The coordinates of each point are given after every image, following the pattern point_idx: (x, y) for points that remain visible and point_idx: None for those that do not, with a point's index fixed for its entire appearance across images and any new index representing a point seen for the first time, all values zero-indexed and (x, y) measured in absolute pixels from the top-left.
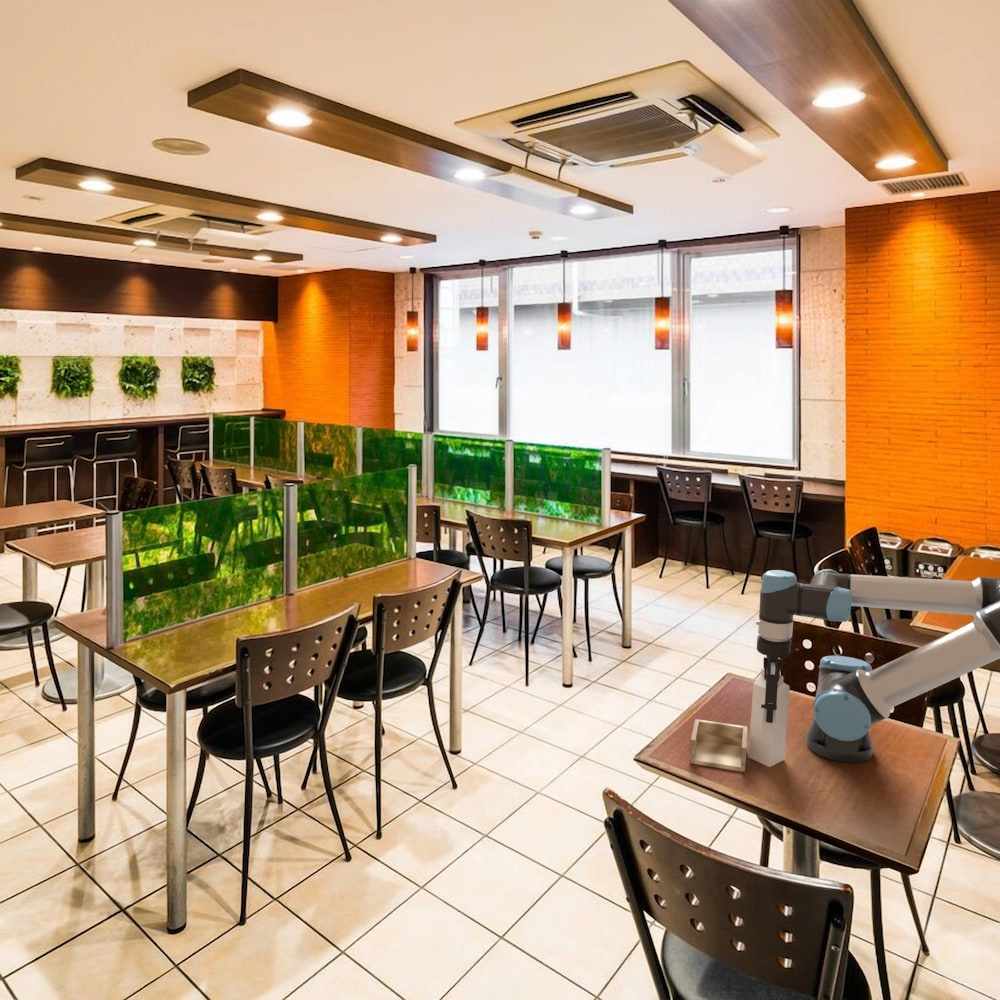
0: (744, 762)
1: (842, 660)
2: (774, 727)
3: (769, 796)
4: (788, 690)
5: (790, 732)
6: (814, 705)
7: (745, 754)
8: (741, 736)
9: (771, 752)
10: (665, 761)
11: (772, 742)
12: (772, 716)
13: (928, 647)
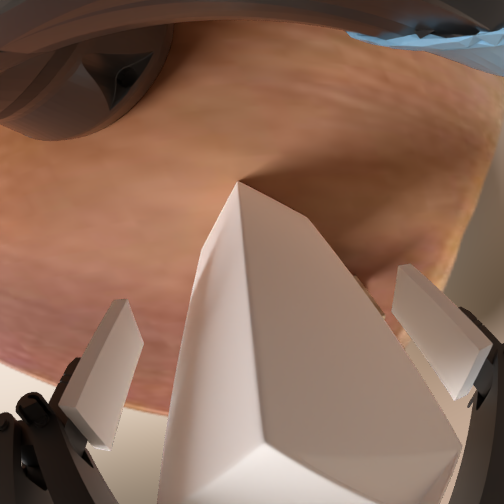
0: (365, 291)
1: None
2: (432, 283)
3: (444, 207)
4: (285, 396)
5: (46, 193)
6: (490, 50)
7: (376, 303)
8: None
9: (319, 233)
10: None
11: (328, 247)
12: (485, 329)
13: None
